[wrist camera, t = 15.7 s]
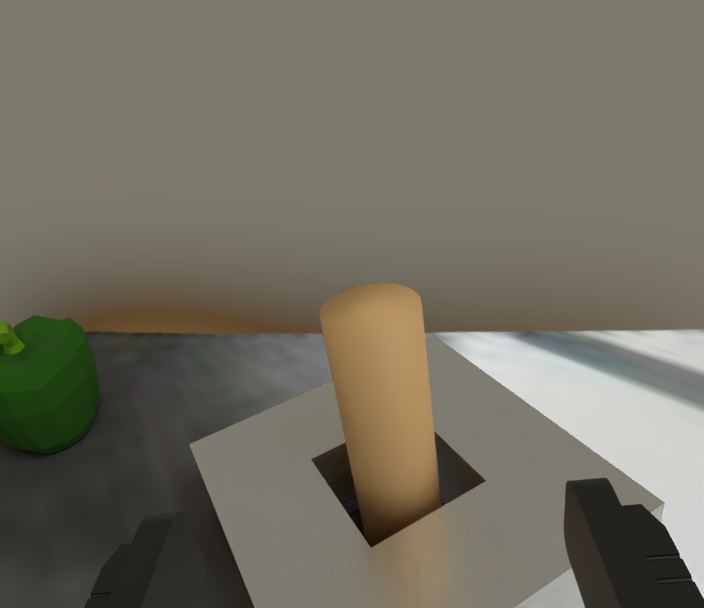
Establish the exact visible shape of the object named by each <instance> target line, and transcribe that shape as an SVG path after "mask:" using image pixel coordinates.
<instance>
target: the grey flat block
mask: <svg viewBox="0 0 704 608" xmlns="http://www.w3.org/2000/svg"><path fill="white" fill-rule="evenodd" d="M425 342H426V352H427V363H428V373H429V383H430V393H431V404H432V414H433V424H434V434H435V445H436V455H437V465H438V475H439V486H440V496H441V500H442V501H443V502H444V503H445V504H446V505H444V506H442V507H440V508H439V509H437V510H435V511H434V512H432V513H430V514H428V515H427V516H425V517H423V518H422V519H420V520H418V521H416V522H415V523H413V524H411V525H409V526H408V527H406V528H404V529H403V530H401V531H399V532H397V533H396V534H394V535H392V536H391V537H389V538H387V539H385V540H384V541H382V542H380V543H378V544H377V545H375V546H373V547H372V548H371V547H370V546H369V545H368V543H367V542H366V540H365V539H364V537H363V536H362V534H361V533H360V531H359V530H358V528H357V527H356V525H355V524H354V522H353V521H352V519H351V518H350V516H349V515H348V514H350V513H352V512H354V511H356V510H358V509H359V505H358V500H357V495H356V491H355V486H354V481H353V476H352V471H351V466H350V461H349V456H348V452H347V447H346V442H345V437H344V432H343V427H342V422H341V418H340V413H339V408H338V403H337V398H336V393H335V388H334V384H333V380H332V381H330V382H328V383H326V384H323V385H321V386H319V387H317V388H315V389H312V390H310V391H308V392H306V393H303V394H301V395H299V396H297V397H294V398H292V399H290V400H288V401H285V402H283V403H281V404H279V405H276V406H274V407H272V408H270V409H267V410H265V411H263V412H261V413H258V414H256V415H254V416H252V417H249V418H247V419H245V420H243V421H241V422H238V423H236V424H234V425H232V426H229V427H227V428H225V429H223V430H220V431H218V432H216V433H214V434H211V435H209V436H207V437H205V438H202V439H200V440H198V441H196V442H193V443H191V444H189V445H190V448H191V450H192V453H193V455H194V458H195V460H196V463H197V465H198V468H199V471H200V473H201V476H202V478H203V481H204V483H205V486H206V488H207V491H208V493H209V496H210V498H211V501H212V503H213V506H214V508H215V511H216V513H217V516H218V518H219V521H220V523H221V526H222V528H223V531H224V533H225V536H226V538H227V541H228V543H229V546H230V548H231V551H232V553H233V556H234V558H235V561H236V563H237V566H238V568H239V571H240V573H241V576H242V578H243V581H244V583H245V586H246V588H247V591H248V593H249V596H250V598H251V601H252V603H253V606H254V608H585V606H584V603H583V600H582V597H581V594H580V591H579V588H578V585H577V582H576V579H575V576H574V573H573V570H572V567H571V564H570V561H569V558H568V554H567V550H566V545H565V539H564V510H565V490H566V482H567V481H571V480H583V479H594V478H607V479H608V480H609V481H610V483H611V485H612V487H613V489H614V491H615V493H616V495H617V497H618V499H619V501H620V503H621V506H622V505H634V504H642V505H643V506H644V507H645V508H646V509H647V510H648V511H649V512H650V513H651V514H652V515H654V516H655V517H656V518H657V519H658V520H659V521H660V522H661V519H662V514H663V509H664V504H665V503H664V502H663V501H661V500H660V499H659V498H657V497H656V496H654V495H653V494H652V493H650V492H649V491H648V490H646V489H645V488H643V487H642V486H641V485H639V484H638V483H637V482H635V481H634V480H632V479H631V478H630V477H628V476H627V475H626V474H624V473H623V472H621V471H620V470H619V469H617V468H616V467H615V466H613V465H612V464H610V463H609V462H608V461H606V460H605V459H603V458H602V457H601V456H599V455H598V454H597V453H595V452H594V451H592V450H591V449H590V448H588V447H587V446H586V445H584V444H583V443H581V442H580V441H579V440H577V439H576V438H575V437H573V436H572V435H570V434H569V433H568V432H566V431H565V430H564V429H562V428H561V427H559V426H558V425H557V424H555V423H554V422H552V421H551V420H550V419H548V418H547V417H546V416H544V415H543V414H541V413H540V412H539V411H537V410H536V409H535V408H533V407H532V406H530V405H529V404H528V403H526V402H525V401H524V400H522V399H521V398H519V397H518V396H517V395H515V394H514V393H513V392H511V391H510V390H508V389H507V388H506V387H504V386H503V385H501V384H500V383H499V382H497V381H496V380H495V379H493V378H492V377H490V376H489V375H488V374H486V373H485V372H484V371H482V370H481V369H479V368H478V367H477V366H475V365H474V364H473V363H471V362H470V361H468V360H467V359H466V358H464V357H463V356H462V355H460V354H459V353H457V352H456V351H455V350H453V349H452V348H450V347H449V346H448V345H446V344H445V343H444V342H442V341H441V340H439V339H438V338H437V337H435V336H434V335H433V336H431V337H429V338H427V339H425Z"/></svg>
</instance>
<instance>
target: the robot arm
mask: <svg viewBox="0 0 704 608" xmlns="http://www.w3.org/2000/svg"><path fill="white" fill-rule="evenodd" d="M564 539H565V545H566V550H567V554H568V558H569V561H570V564H571V567H572V570H573V573H574V576H575V579H576V582H577V585H578V588H579V591H580V594H581V597H582V600H583V603H584V606H585V608H704V599H703V597H702V595H701V593H700V591H699V589H698V588H697V586H696V584H695V582H693V581H692V578H691V574H690V573H689V571H688V569H687V567H686V565H685V563H684V561H683V559H681V558H680V555H679V552H678V550H677V548H676V546H675V544H674V542H673V540H672V539H671V537H670V535H669V533H668V531H667V529H666V527H665V526H664V525H663V524H662V523H661V522H660V521H659V520H658V519H657V518H656V517H655V516H654V515H652V514H651V513H650V512H649V511H648V510H647V509H646V508H645V507H644V506H643V505H642V504H634V505H622V506H621V503H620V501H619V499H618V497H617V495H616V493H615V491H614V489H613V487H612V485H611V483H610V481H609V480H608V479H607V478H594V479H583V480H571V481H567V482H566V490H565V510H564ZM205 579H206V562H205V557H204V554H203V552H202V550H201V548H200V546H199V544H198V541H197V539H196V537H195V535H194V533H193V531H192V529H191V527H190V525H189V523H188V521H187V518H186V517H185V515H184V514H182V513H172V514H161V515H149V516H146V517H145V518H144V519H143V520H142V522H141V524H140V526H139V528H138V530H137V533H136V535H135V538H134V540H133V542H132V544H122V545H121V546H120V547H119V548H118V549H117V551H116V552H115V553H114V554H113V555H112V557H111V558H110V559H109V560H108V561H107V563H106V564H105V565H104V566H103V567H102V569H101V572H100V574H99V576H98V578H97V580H96V583H95V585H94V587H93V589H92V592H91V598H90V599H88V600H87V603H86V605H85V607H84V608H199V604H200V600H201V596H202V593H203V589H204V585H205Z"/></svg>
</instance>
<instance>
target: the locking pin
mask: <svg viewBox="0 0 704 608" xmlns="http://www.w3.org/2000/svg"><path fill="white" fill-rule="evenodd" d="M421 302H422V301H421V298H420V297H419V295H418V294H417V293H416V292H415V291H414V290H412V289H410V288H408V287H405V286H402V285H399V284H393V283H371V284H363V285H359V286H355V287H351V288H348V289H346V290H343V291H341V292H339V293H337V294H336V295H334V296H332V297H331V298H330V299H329V300H327V301H326V302H325V304H324V305H323V306H322V308H321V310H320V320H321V325H322V330H323V335H324V340H325V345H326V350H327V354H328V359H329V364H330V369H331V374H332V379H333V384H334V388H335V393H336V398H337V403H338V408H339V413H340V418H341V422H342V427H343V432H344V437H345V442H346V447H347V452H348V456H349V461H350V466H351V471H352V476H353V481H354V486H355V491H356V495H357V500H358V505H359V510H360V515H361V520H362V525H363V529H364V534H365V539H366V542H367V543H368V545H369V546H370V547H371V548H372V547H373V546H375V545H377V544H378V543H380V542H382V541H384V540H385V539H387V538H389V537H391V536H392V535H394V534H396V533H397V532H399V531H401V530H403V529H404V528H406V527H408V526H409V525H411V524H413V523H415V522H416V521H418V520H420V519H422V518H423V517H425V516H427V515H428V514H430V513H432V512H434V511H435V510H437V509H439V508H440V507H442V506H441V496H440V486H439V475H438V465H437V455H436V445H435V434H434V424H433V414H432V404H431V393H430V383H429V373H428V363H427V352H426V342H425V332H424V322H423V312H422V303H421Z"/></svg>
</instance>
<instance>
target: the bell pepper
mask: <svg viewBox="0 0 704 608" xmlns="http://www.w3.org/2000/svg"><path fill="white" fill-rule="evenodd" d="M99 401H100V398H99V385H98V378H97V372H96V365H95V360H94V356H93V352H92V349H91V346H90V344H89V342H88V339H87V337H86V335H85V333H84V330H83V328H81V326H79V325H78V324H77V323H75V322H74V321H73V320H71V319H70V318H67V319H62V320H56V319H51V318H45V317H40V316H32V317H30V318H28V319H26V320H25V321H23V322H21V323H19V324H18V325H16V326H15V327H14V328H13V329H12V327H11V326H10V324H8V323H7V322H4V321H0V440H1V441H2V442H3V443H5V444H7V445H9V446H11V447H13V448H16V449H19V450H22V451H25V450H27V451H30V452H33V453H41V454H51V453H54V452H56V451H59V450H62V449H65V448H68V447H70V446H71V445H73V444H74V443H76V442H77V441H79V440H80V439H82V438H84V437H85V435H86V433H87V432H88V430H89V428H90V427H91V425H92V423H93V421H94V417H95V412H96V411H97V407H98V404H99Z"/></svg>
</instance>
